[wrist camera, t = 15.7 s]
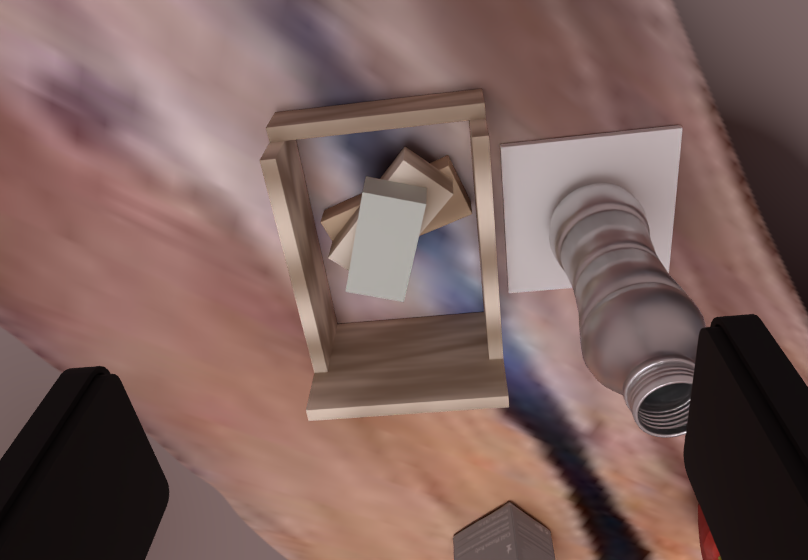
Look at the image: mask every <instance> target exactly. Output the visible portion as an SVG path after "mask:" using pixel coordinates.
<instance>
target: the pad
mask: <svg viewBox="0 0 808 560" xmlns="http://www.w3.org/2000/svg"><path fill="white" fill-rule="evenodd" d="M681 138H682V127H681V126H680V125H675V126H665V127H656V128H647V129H637V130H628V131H619V132H609V133H600V134H591V135H582V136H572V137H563V138H554V139H544V140H535V141H526V142H516V143H507V144H500V152H501V170H502V188H503V207H504V225H505V243H506V261H507V279H508V292H509V293H518V292H529V291H541V290H553V289H564V288H572V285H571V283H570V281H569V279H568V277H567V275H566V273H565V272H564V270H563V269H562V268H561V266H560V265H559V263H558V262H557V260H556V258H555V257H554V255H553V253H552V250H551V248H550V242H549V231H550V221H551V218H552V215H553V213H554V211H555V209H556V207H557V206H558V205H559V203H560V202H561V201H562V200H563V199H564V198H565V197H566V196H567V195H569V194H570V193H571V192H573V191H575V190H576V189H578V188H581V187H583V186H586V185H590V184H594V183H608V184H614V185H617V186H619V187H621V188H623V189H625V190H626V191H628V192H629V193H630V194H631V195H632V196H634V197H635V198H636V199H637V200H638V201H639V202H640V204H641V205H642V207H643V209H644V210H645V214H646V217H647V221H648V225H649V229H650V238H651V241H652V243H653V246H654V249H655V252H656V255H657V256H658V258H659V260H660V261H661V263H662V264H663V266H664V267H665V269H666V270H667V272H668V273H669V264H670V254H671V243H672V233H673V222H674V212H675V201H676V191H677V180H678V170H679V159H680V149H681Z"/></svg>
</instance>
